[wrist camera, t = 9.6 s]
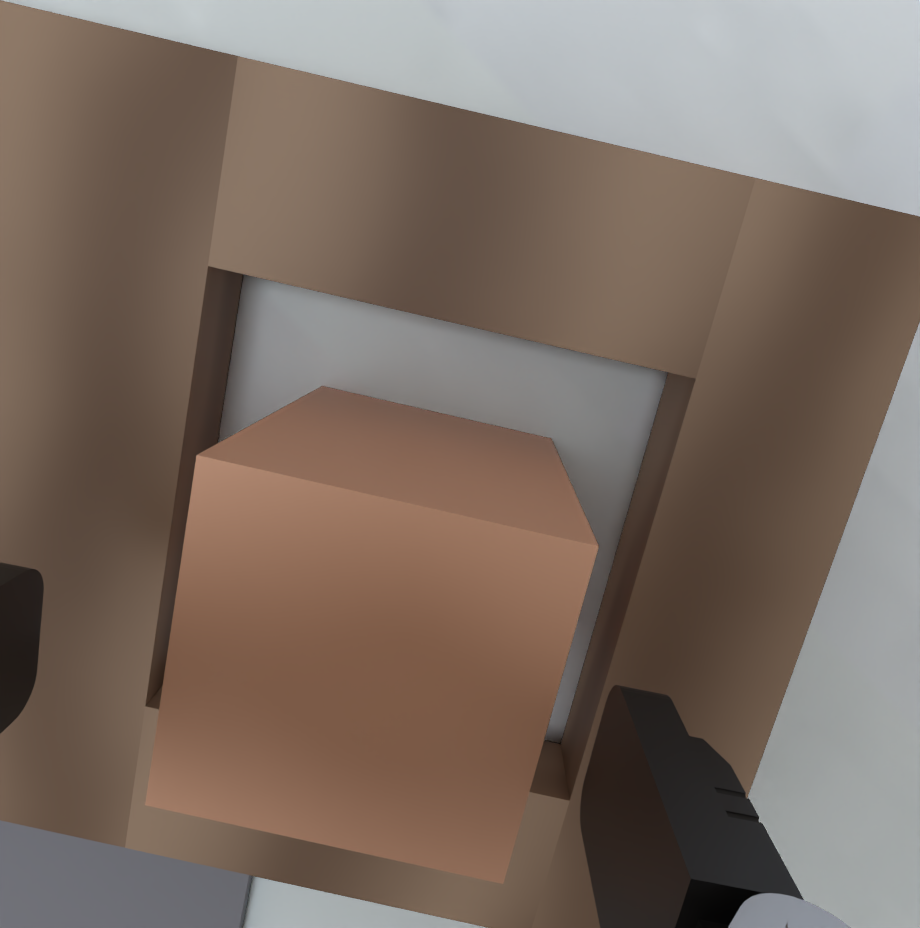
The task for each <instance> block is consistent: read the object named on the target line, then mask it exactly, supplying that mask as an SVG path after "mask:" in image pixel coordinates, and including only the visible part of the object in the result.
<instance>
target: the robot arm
mask: <svg viewBox="0 0 920 928" xmlns="http://www.w3.org/2000/svg"><path fill="white" fill-rule="evenodd" d="M43 593H44V583H43V578H42V575H41V573H40V572H39V571H38V570H36V569H32V568H27V567H22V566H17V565H12V564H6V563H1V562H0V734H1V733H2V732H3V731H4V730H5V729H6V728H7V727H8V726H9V725H10V724H11V723H12V722H14V720H15V719H16V718H17V717H18V716H19V715H20V713H21V712H22V710H23V709H24V707H25V706H26V704H27V702H28V700H29V698H30V696H31V693H32V690H33V687H34V684H35V680H36V676H37V667H38V654H39V642H40V630H41V618H42V606H43ZM758 819H759V816H758V815H757V813H756V811H755V809H754V807H753V805H752V803H751V802H750V800H749V799H747V798H746V792H745V791H744V789H743V787H742V785H741V783H740V781H739V779H738V778H737V776H736V774H735V772H734V770H733V768H732V767H731V765H730V764H729V763H728V762H727V761H726V760H725V759H724V758H723V757H722V756H721V755H720V754H719V753H718V752H716V751H715V750H714V749H713V748H712V747H711V746H710V745H709V744H708V743H707V742H706V741H705V740H704V739H703V738H697V737H692V736H689V734H688V732H687V730H686V728H685V726H684V724H683V722H682V720H681V718H680V716H679V714H678V712H677V709H676V707H675V705H674V703H673V701H672V699H671V698H670V697H669V696H668V695H665V694H660V693H655V692H650V691H645V690H640V689H635V688H629V687H624V686H619V685H615V686H613V687H612V689H611V690H610V692H609V694H608V697H607V700H606V703H605V707H604V710H603V714H602V718H601V721H600V725H599V728H598V732H597V736H596V739H595V743H594V746H593V750H592V754H591V757H590V761H589V765H588V768H587V772H586V775H585V779H584V783H583V788H582V795H581V804H580V826H581V833H582V838H583V843H584V848H585V853H586V858H587V863H588V868H589V873H590V878H591V883H592V889H593V894H594V899H595V904H596V909H597V914H598V919H599V924H600V928H851V927H849V926H848V925H847V924H846V923H844V922H843V921H841V920H840V919H838V918H837V917H835V916H834V915H832V914H831V913H829V912H827V911H825V910H824V909H822V908H820V907H818V906H816V905H814V904H811V903H809V902H807V901H805V900H804V899H803V898H802V896H801V894H800V892H799V890H798V888H797V886H796V885H795V883H794V881H793V879H792V877H791V875H790V874H789V872H788V870H787V868H786V866H785V864H784V862H783V861H782V859H781V857H780V855H779V853H778V851H777V850H776V848H775V846H774V844H773V842H772V840H771V839H770V837H769V835H768V833H767V831H766V829H765V827H764V826H763V824H762V823H759V821H758Z"/></svg>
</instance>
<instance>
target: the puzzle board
mask: <svg viewBox="0 0 920 928" xmlns="http://www.w3.org/2000/svg"><path fill="white" fill-rule="evenodd" d="M243 274H245V275H249V276H254V277H258V278H262V279H267V280H271V281H275V282H280V283H284V284H288V285H292V286H297V287H301V288H305V289H310V290H314V291H318V292H323V293H327V294H331V295H336V296H340V297H344V298H349V299H353V300H357V301H362V302H366V303H370V304H375V305H379V306H383V307H388V308H392V309H396V310H401V311H405V312H409V313H414V314H418V315H422V316H427V317H431V318H435V319H440V320H444V321H448V322H453V323H457V324H461V325H466V326H470V327H474V328H478V329H483V330H487V331H491V332H496V333H500V334H504V335H509V336H513V337H517V338H522V339H526V340H530V341H535V342H539V343H543V344H548V345H552V346H556V347H561V348H565V349H569V350H574V351H578V352H582V353H587V354H591V355H595V356H600V357H604V358H608V359H613V360H617V361H621V362H626V363H630V364H634V365H639V366H643V367H647V368H652V369H656V370H660V371H665V372H668V375H667V379H666V382H665V385H664V389H663V392H662V396H661V399H660V403H659V406H658V410H657V413H656V417H655V420H654V423H653V427H652V430H651V434H650V437H649V441H648V444H647V448H646V451H645V455H644V458H643V461H642V465H641V468H640V472H639V475H638V479H637V482H636V486H635V489H634V492H633V496H632V499H631V503H630V506H629V510H628V513H627V517H626V520H625V524H624V527H623V530H622V534H621V537H620V541H619V544H618V548H617V551H616V555H615V558H614V561H613V565H612V568H611V572H610V575H609V579H608V582H607V586H606V589H605V593H604V596H603V599H602V603H601V606H600V610H599V613H598V617H597V620H596V624H595V627H594V631H593V634H592V637H591V641H590V644H589V648H588V651H587V655H586V658H585V662H584V665H583V668H582V672H581V675H580V679H579V682H578V686H577V689H576V693H575V696H574V700H573V703H572V706H571V710H570V713H569V717H568V720H567V724H566V727H565V731H564V734H563V737H562V741H561V744H558V743H553V742H549V741H544V742H543V746H542V749H541V753H540V756H539V760H538V763H537V767H536V770H535V774H534V777H533V781H532V785H531V788H530V792H529V795H528V799H527V802H526V806H525V809H524V813H523V816H522V820H521V823H520V827H519V830H518V834H517V838H516V841H515V845H514V848H513V852H512V855H511V859H510V862H509V866H508V869H507V873H506V876H505V880H504V883H503V884H500V883H496V882H491V881H487V880H482V879H477V878H473V877H468V876H464V875H459V874H455V873H450V872H446V871H441V870H437V869H432V868H428V867H423V866H418V865H414V864H409V863H405V862H400V861H396V860H391V859H387V858H382V857H378V856H373V855H368V854H364V853H359V852H355V851H350V850H346V849H341V848H337V847H332V846H328V845H323V844H319V843H314V842H309V841H305V840H300V839H296V838H291V837H287V836H282V835H278V834H273V833H269V832H264V831H260V830H255V829H250V828H246V827H241V826H237V825H232V824H228V823H223V822H219V821H214V820H210V819H205V818H201V817H196V816H191V815H187V814H182V813H178V812H173V811H169V810H164V809H160V808H155V807H151V806H146V805H145V802H146V795H147V788H148V781H149V775H150V768H151V761H152V754H153V747H154V741H155V734H156V727H157V720H158V713H159V707H160V700H161V693H162V686H163V679H164V673H165V666H166V659H167V652H168V646H169V639H170V632H171V625H172V618H173V612H174V605H175V598H176V591H177V584H178V578H179V571H180V564H181V557H182V550H183V544H184V537H185V530H186V523H187V516H188V510H189V503H190V496H191V489H192V482H193V476H194V469H195V462H196V455H198V454H199V453H201V452H203V451H205V450H207V449H208V448H210V447H212V446H214V445H216V444H217V441H218V435H219V428H220V422H221V415H222V408H223V402H224V395H225V389H226V382H227V376H228V369H229V363H230V356H231V350H232V343H233V337H234V330H235V324H236V317H237V311H238V304H239V298H240V291H241V285H242V278H243ZM919 322H920V217H919V216H915V215H910V214H906V213H902V212H898V211H893V210H889V209H885V208H881V207H876V206H872V205H868V204H864V203H859V202H855V201H851V200H847V199H842V198H838V197H834V196H830V195H825V194H821V193H817V192H813V191H808V190H804V189H800V188H796V187H791V186H787V185H783V184H779V183H774V182H770V181H766V180H762V179H757V178H753V177H749V176H745V175H740V174H736V173H732V172H728V171H723V170H719V169H715V168H711V167H706V166H702V165H698V164H694V163H689V162H685V161H681V160H677V159H672V158H668V157H664V156H660V155H655V154H651V153H647V152H643V151H638V150H634V149H630V148H626V147H621V146H617V145H613V144H609V143H604V142H600V141H596V140H592V139H587V138H583V137H579V136H575V135H570V134H566V133H562V132H558V131H553V130H549V129H545V128H541V127H536V126H532V125H528V124H524V123H519V122H515V121H511V120H507V119H502V118H498V117H494V116H490V115H485V114H481V113H477V112H473V111H468V110H464V109H460V108H456V107H451V106H447V105H443V104H439V103H434V102H430V101H426V100H422V99H417V98H413V97H409V96H405V95H400V94H396V93H392V92H388V91H383V90H379V89H375V88H371V87H366V86H362V85H358V84H354V83H349V82H345V81H341V80H337V79H332V78H328V77H324V76H320V75H315V74H311V73H307V72H303V71H298V70H294V69H290V68H286V67H281V66H277V65H273V64H269V63H264V62H260V61H256V60H252V59H247V58H243V57H239V56H235V55H230V54H226V53H222V52H218V51H213V50H209V49H205V48H201V47H196V46H192V45H188V44H184V43H179V42H175V41H171V40H167V39H162V38H158V37H154V36H150V35H145V34H141V33H137V32H133V31H128V30H124V29H120V28H116V27H111V26H107V25H103V24H99V23H94V22H90V21H86V20H82V19H77V18H73V17H69V16H65V15H60V14H56V13H52V12H48V11H43V10H39V9H35V8H31V7H26V6H22V5H18V4H14V3H9V2H5V1H1V0H0V562H1V563H6V564H12V565H17V566H22V567H27V568H32V569H36V570H38V571H39V572H40V573H41V575H42V578H43V583H44V593H43V606H42V618H41V630H40V642H39V654H38V667H37V676H36V680H35V684H34V687H33V690H32V693H31V696H30V698H29V700H28V702H27V704H26V706H25V707H24V709H23V710H22V712H21V713H20V715H19V716H18V717H17V718H16V719H15V720H14V722H12V723H11V724H10V725H9V726H8V727H7V728H6V729H5V730H4V731H3V732H2V733H1V734H0V820H1V821H5V822H10V823H14V824H19V825H24V826H28V827H33V828H37V829H42V830H46V831H51V832H55V833H60V834H64V835H69V836H74V837H78V838H83V839H87V840H92V841H96V842H101V843H105V844H110V845H115V846H119V847H124V848H128V849H133V850H137V851H142V852H146V853H151V854H155V855H160V856H165V857H169V858H174V859H178V860H183V861H187V862H192V863H196V864H201V865H206V866H210V867H215V868H219V869H224V870H228V871H233V872H237V873H242V874H247V875H251V876H256V877H260V878H265V879H269V880H274V881H278V882H283V883H287V884H292V885H297V886H301V887H306V888H310V889H315V890H319V891H324V892H328V893H333V894H338V895H342V896H347V897H351V898H356V899H360V900H365V901H369V902H374V903H378V904H383V905H388V906H392V907H397V908H401V909H406V910H410V911H415V912H419V913H424V914H429V915H433V916H438V917H442V918H447V919H451V920H456V921H460V922H465V923H470V924H474V925H479V926H483V927H488V928H600V924H599V919H598V914H597V909H596V904H595V899H594V894H593V889H592V883H591V878H590V873H589V868H588V863H587V858H586V853H585V848H584V843H583V838H582V833H581V826H580V804H581V795H582V788H583V783H584V779H585V775H586V772H587V768H588V765H589V761H590V757H591V754H592V750H593V746H594V743H595V739H596V736H597V732H598V728H599V725H600V721H601V718H602V714H603V710H604V707H605V703H606V700H607V697H608V694H609V692H610V690H611V689H612V687H613V686H615V685H619V686H624V687H629V688H635V689H640V690H645V691H650V692H655V693H660V694H665V695H668V696H669V697H670V698H671V699H672V701H673V703H674V705H675V707H676V709H677V712H678V714H679V716H680V718H681V720H682V722H683V724H684V726H685V728H686V730H687V732H688V734H689V736H692V737H697V738H703V739H704V740H705V741H706V742H707V743H708V744H709V745H710V746H711V747H712V748H713V749H714V750H715V751H716V752H718V753H719V754H720V755H721V756H722V757H723V758H724V759H725V760H726V761H727V762H728V763H729V764H730V765H731V767H732V768H733V770H734V772H735V774H736V776H737V778H738V779H739V781H740V783H741V785H742V787H743V789H744V791H745V792H746V798H747V797H748V794H749V791H750V789H751V786H752V783H753V780H754V778H755V775H756V772H757V769H758V767H759V764H760V761H761V758H762V756H763V753H764V750H765V747H766V745H767V742H768V739H769V736H770V733H771V731H772V728H773V725H774V722H775V720H776V717H777V714H778V711H779V709H780V706H781V703H782V700H783V698H784V695H785V692H786V689H787V686H788V684H789V681H790V678H791V675H792V673H793V670H794V667H795V664H796V662H797V659H798V656H799V653H800V651H801V648H802V645H803V642H804V639H805V637H806V634H807V631H808V628H809V626H810V623H811V620H812V617H813V615H814V612H815V609H816V606H817V604H818V601H819V598H820V595H821V593H822V590H823V587H824V584H825V581H826V579H827V576H828V573H829V570H830V568H831V565H832V562H833V559H834V557H835V554H836V551H837V548H838V546H839V543H840V540H841V537H842V534H843V532H844V529H845V526H846V523H847V521H848V518H849V515H850V512H851V510H852V507H853V504H854V501H855V499H856V496H857V493H858V490H859V487H860V485H861V482H862V479H863V476H864V474H865V471H866V468H867V465H868V463H869V460H870V457H871V454H872V452H873V449H874V446H875V443H876V441H877V438H878V435H879V432H880V429H881V427H882V424H883V421H884V418H885V416H886V413H887V410H888V407H889V405H890V402H891V399H892V396H893V394H894V391H895V388H896V385H897V382H898V380H899V377H900V374H901V371H902V369H903V366H904V363H905V360H906V358H907V355H908V352H909V349H910V347H911V344H912V341H913V338H914V335H915V333H916V330H917V327H918V324H919Z"/></svg>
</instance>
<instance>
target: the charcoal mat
mask: <svg viewBox="0 0 920 928" xmlns="http://www.w3.org/2000/svg"><path fill="white" fill-rule="evenodd" d="M251 880H252V876H251V875H247V874H242V873H237V872H233V871H228V870H224V869H219V868H215V867H210V866H206V865H201V864H196V863H192V862H187V861H183V860H178V859H174V858H169V857H165V856H160V855H155V854H151V853H146V852H142V851H137V850H133V849H128V848H124V847H119V846H115V845H110V844H105V843H101V842H96V841H92V840H87V839H83V838H78V837H74V836H69V835H64V834H60V833H55V832H51V831H46V830H42V829H37V828H33V827H28V826H24V825H19V824H14V823H10V822H5V821H1V820H0V928H243V922H244V917H245V912H246V907H247V901H248V896H249V891H250V886H251Z"/></svg>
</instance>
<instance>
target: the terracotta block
mask: <svg viewBox="0 0 920 928" xmlns="http://www.w3.org/2000/svg"><path fill="white" fill-rule="evenodd" d="M598 548H599V546H598V543H597V541H596V539H595V536H594V534H593V532H592V530H591V527H590V525H589V523H588V521H587V518H586V516H585V514H584V511H583V509H582V507H581V505H580V502H579V500H578V498H577V496H576V493H575V491H574V489H573V487H572V484H571V482H570V480H569V477H568V475H567V473H566V471H565V468H564V466H563V464H562V462H561V459H560V457H559V455H558V453H557V450H556V448H555V446H554V443H553V441H552V439H551V438H547V437H543V436H538V435H534V434H529V433H525V432H521V431H516V430H512V429H508V428H503V427H499V426H495V425H490V424H486V423H481V422H477V421H473V420H468V419H464V418H460V417H455V416H451V415H447V414H442V413H438V412H433V411H429V410H425V409H420V408H416V407H412V406H407V405H403V404H398V403H394V402H390V401H385V400H381V399H377V398H372V397H368V396H364V395H359V394H355V393H350V392H346V391H342V390H337V389H333V388H329V387H324V386H321V387H319V388H318V389H316V390H314V391H312V392H310V393H309V394H307V395H305V396H303V397H301V398H299V399H298V400H296V401H294V402H292V403H290V404H289V405H287V406H285V407H283V408H281V409H279V410H278V411H276V412H274V413H272V414H270V415H269V416H267V417H265V418H263V419H261V420H259V421H258V422H256V423H254V424H252V425H250V426H248V427H247V428H245V429H243V430H241V431H239V432H238V433H236V434H234V435H232V436H230V437H228V438H227V439H225V440H223V441H221V442H219V443H218V444H216V445H214V446H212V447H210V448H208V449H207V450H205V451H203V452H201V453H199V454H198V455H196V462H195V469H194V476H193V482H192V489H191V496H190V503H189V510H188V516H187V523H186V530H185V537H184V544H183V550H182V557H181V564H180V571H179V578H178V584H177V591H176V598H175V605H174V612H173V618H172V625H171V632H170V639H169V646H168V652H167V659H166V666H165V673H164V679H163V686H162V693H161V700H160V707H159V713H158V720H157V727H156V734H155V741H154V747H153V754H152V761H151V768H150V775H149V781H148V788H147V795H146V802H145V805H146V806H151V807H155V808H160V809H164V810H169V811H173V812H178V813H182V814H187V815H191V816H196V817H201V818H205V819H210V820H214V821H219V822H223V823H228V824H232V825H237V826H241V827H246V828H250V829H255V830H260V831H264V832H269V833H273V834H278V835H282V836H287V837H291V838H296V839H300V840H305V841H309V842H314V843H319V844H323V845H328V846H332V847H337V848H341V849H346V850H350V851H355V852H359V853H364V854H368V855H373V856H378V857H382V858H387V859H391V860H396V861H400V862H405V863H409V864H414V865H418V866H423V867H428V868H432V869H437V870H441V871H446V872H450V873H455V874H459V875H464V876H468V877H473V878H477V879H482V880H487V881H491V882H496V883H500V884H503V883H504V880H505V876H506V873H507V869H508V866H509V862H510V859H511V855H512V852H513V848H514V845H515V841H516V838H517V834H518V830H519V827H520V823H521V820H522V816H523V813H524V809H525V806H526V802H527V799H528V795H529V792H530V788H531V785H532V781H533V777H534V774H535V770H536V767H537V763H538V760H539V756H540V753H541V749H542V746H543V742H544V739H545V735H546V732H547V728H548V725H549V721H550V717H551V714H552V710H553V707H554V703H555V700H556V696H557V693H558V689H559V686H560V682H561V679H562V675H563V672H564V668H565V664H566V661H567V657H568V654H569V650H570V647H571V643H572V640H573V636H574V633H575V629H576V626H577V622H578V619H579V615H580V611H581V608H582V604H583V601H584V597H585V594H586V590H587V587H588V583H589V580H590V576H591V573H592V569H593V566H594V562H595V559H596V555H597V551H598Z"/></svg>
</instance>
